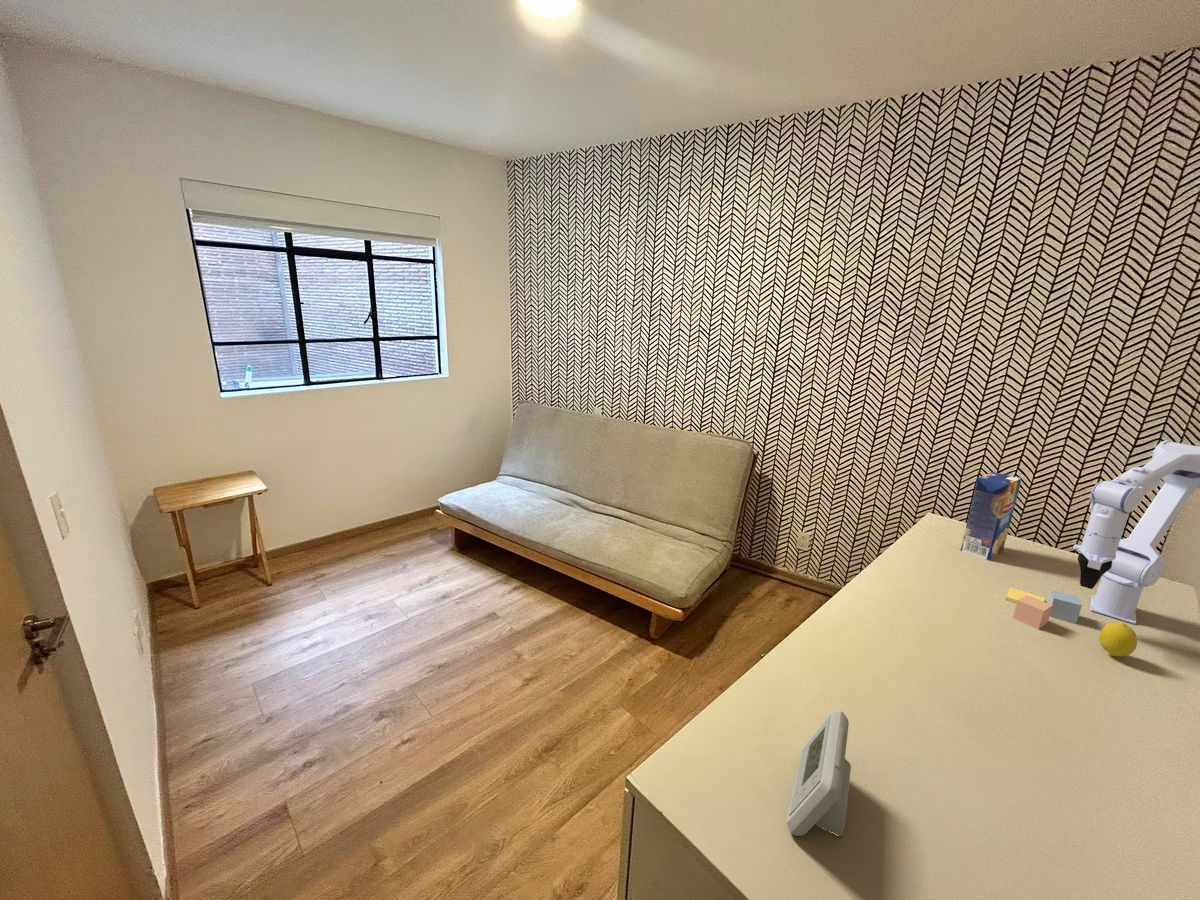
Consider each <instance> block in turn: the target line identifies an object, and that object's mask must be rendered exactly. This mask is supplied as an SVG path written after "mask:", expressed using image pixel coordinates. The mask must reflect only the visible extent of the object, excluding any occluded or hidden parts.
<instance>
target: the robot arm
mask: <svg viewBox="0 0 1200 900" xmlns="http://www.w3.org/2000/svg"><path fill="white" fill-rule="evenodd" d="M1151 455H1152V456H1151V459H1150V460H1149V461H1148V462H1147V463H1146V464H1145V465H1143V466H1134V467H1132V468H1131V467H1130V468H1129V469H1128V470H1126V471H1125V472H1123V473H1121V474H1120V475H1119V476H1117V477H1115V478H1114V479H1112V480H1110V481H1109V480H1104V481H1099V482H1097V483H1096V484H1094V486H1093V488H1092V490H1091V492H1090V495H1089V501H1090V503H1089V510H1090V517H1089V520H1088V522H1087V526H1086V528H1085V533H1084V535H1083V538H1082V542H1081V544H1077V543H1076V544H1074V545H1073V548H1072V549H1074V550H1077V551H1079V552H1080V553H1078V556H1077V562H1078V565H1079V568H1080V574H1079V575H1080V576H1079V585H1080V587H1083V588H1086V589H1091V590H1093V589H1094V588H1095V586H1096V585H1097V583H1098V582H1099V583H1098V587H1097V590H1096V593H1095V595H1092V594H1091V595H1090V603H1089V610H1090V611H1091V612H1095V613H1097V614H1102V615H1103V616H1107V617H1111V618H1114V619H1117V620H1121V621H1124V622H1127V623H1130V624H1135V625H1136V624H1137V615H1136V610H1137V607H1138V603H1139V602H1140V599H1141V596H1142V593H1143V590H1144V588H1148V587H1152V586H1154V584H1156V583H1157V581H1158V580H1159V579H1160V576H1161V575H1162V571H1163V569H1164V567H1165V559H1164V557H1163V556H1162V555H1161V553H1159V551H1158V550H1157V547H1158V545H1159V543H1160V542H1161V541H1162V540H1163V538H1164V536H1165V535H1166V534H1167V532H1168V530H1169V529H1170V527H1171V526H1172V524H1173V523H1174V522H1175V520H1176V519H1177V517H1178V516H1179V515H1180V512H1181V511H1182V510H1183V508H1184V506H1185V505H1186V503H1187V502H1188V501H1189V499H1190V498H1191V497H1192V496H1193V494H1194V493H1195V492H1196V490H1197V489H1200V446H1198V445H1192V444H1187V443H1181V442H1176V441H1175V442H1174V441H1171V440H1168V439H1167V440H1165V439H1164V440H1163V441H1162V442H1159V443H1158V445H1156V447H1155V448H1154V450H1153V452H1152V454H1151ZM1161 480H1162V481H1163V483H1164V484H1163V485H1162V486H1161V488H1160V490H1159V491H1158V493H1157V494H1156V495H1155V497H1154V498H1153V500H1152V501H1151V503H1150V505H1149V506H1148V507H1147V509H1146V511H1145V512H1144V513H1143V514H1142V516H1141V518H1140V519H1139V521H1138V522H1137V524H1136V525H1135V527H1134V529H1133V530H1132V531H1131V533H1130V534H1129V535H1128V537H1127V538H1122V536H1123V533H1124V530H1125V526H1126V525H1127V524H1126V523H1127V520H1128V518H1129V514H1130V513H1131V512H1133V511H1135V510H1136V508H1137V507H1138V505H1140V503H1141V502H1142V501H1143V499H1144V496H1146V495H1147V494H1149V493H1150V492H1152V491H1153V490H1155V489H1157V488H1158V487H1159V486H1160V481H1161ZM1099 580H1100V581H1099Z"/></svg>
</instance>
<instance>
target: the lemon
mask: <svg viewBox="0 0 1200 900" xmlns="http://www.w3.org/2000/svg"><path fill="white" fill-rule="evenodd" d="M1098 635H1099V636H1098V640H1099V641H1098V642H1099V644H1100V646H1101V647H1102V649H1104V651H1106V652H1107V653H1108V654H1109V655H1110V656H1112V657H1126V656H1129V655H1131V654H1132V653H1134V652H1135V651H1136V648H1137V646H1138V636H1137V633H1136V632H1135V631H1134V630H1133V628H1132V627H1130V626H1129V625H1127V624H1126V623H1124V622H1112V623H1111V622H1110V623H1108V624H1105V626H1103V627H1102V629H1101V630H1100V632H1099V634H1098Z"/></svg>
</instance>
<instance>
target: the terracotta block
mask: <svg viewBox="0 0 1200 900" xmlns="http://www.w3.org/2000/svg"><path fill="white" fill-rule="evenodd" d="M1052 607H1053V605H1051V604H1048V603H1047V602H1046V601H1044V602H1043V601H1041V600H1038V599H1036V598H1033V597H1031V596H1028V595H1026V596H1024V597H1023V598H1021V599H1019V600H1018V601H1017V603H1016V605H1015V610H1014V612H1013V615H1012V616H1013V617H1012V619H1013V620H1016V621H1018V622H1020V623H1023V624H1025V625H1027V626H1029V627H1032V628H1035V629H1036V630H1040V629H1041V628H1042V627H1044V626H1046V625H1047V624H1048V623H1049V619H1050V618H1051V617H1050V613H1051V610H1052Z"/></svg>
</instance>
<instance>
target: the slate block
mask: <svg viewBox="0 0 1200 900" xmlns="http://www.w3.org/2000/svg"><path fill="white" fill-rule="evenodd" d="M1046 603H1048V604H1051V605H1053V607H1052V610H1051V613H1050V617H1049V618H1054V619H1058V620H1061V621H1065V622H1069V623H1072V624H1077V622H1078V618H1079V616H1080V612H1081V609H1082V606H1083V605H1082V603H1081V600H1080V598H1079V596H1078V595H1073V594H1070V593H1065V592H1063V591H1059V590H1054V589H1050V591H1049V594H1048V598H1047V602H1046Z"/></svg>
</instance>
